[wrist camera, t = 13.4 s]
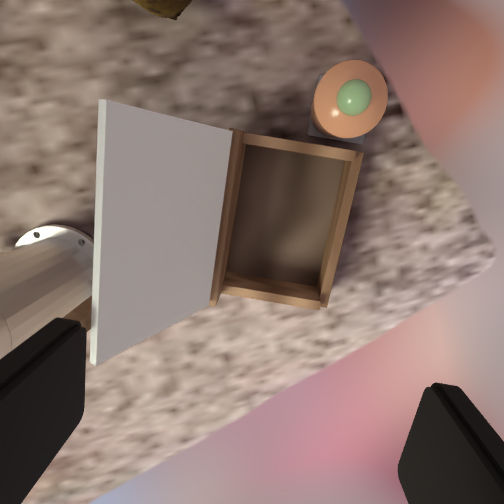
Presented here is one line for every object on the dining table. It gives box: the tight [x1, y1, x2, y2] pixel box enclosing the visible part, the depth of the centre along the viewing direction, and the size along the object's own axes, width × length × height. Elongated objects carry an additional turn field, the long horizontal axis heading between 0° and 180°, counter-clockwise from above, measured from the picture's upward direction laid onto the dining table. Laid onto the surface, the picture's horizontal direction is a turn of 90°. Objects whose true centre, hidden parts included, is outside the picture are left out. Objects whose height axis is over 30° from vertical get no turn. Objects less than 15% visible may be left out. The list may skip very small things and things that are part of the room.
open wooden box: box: [63, 128, 364, 332], centre depth 30 cm, size 20×17×22 cm
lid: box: [90, 99, 233, 366], centre depth 26 cm, size 13×16×1 cm
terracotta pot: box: [310, 60, 388, 138], centre depth 32 cm, size 6×6×10 cm
